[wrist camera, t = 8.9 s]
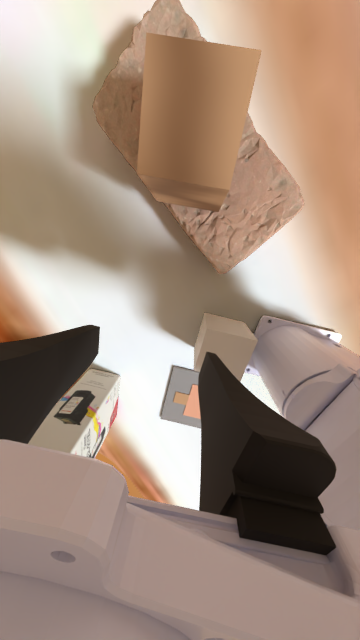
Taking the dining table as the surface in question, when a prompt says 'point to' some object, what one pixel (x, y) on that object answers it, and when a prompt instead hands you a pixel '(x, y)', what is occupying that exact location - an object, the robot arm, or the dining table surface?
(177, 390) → the card
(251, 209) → the brick
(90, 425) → the ink box
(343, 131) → the dining table surface
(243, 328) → the cream cube
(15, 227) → the dining table surface
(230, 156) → the walnut block
